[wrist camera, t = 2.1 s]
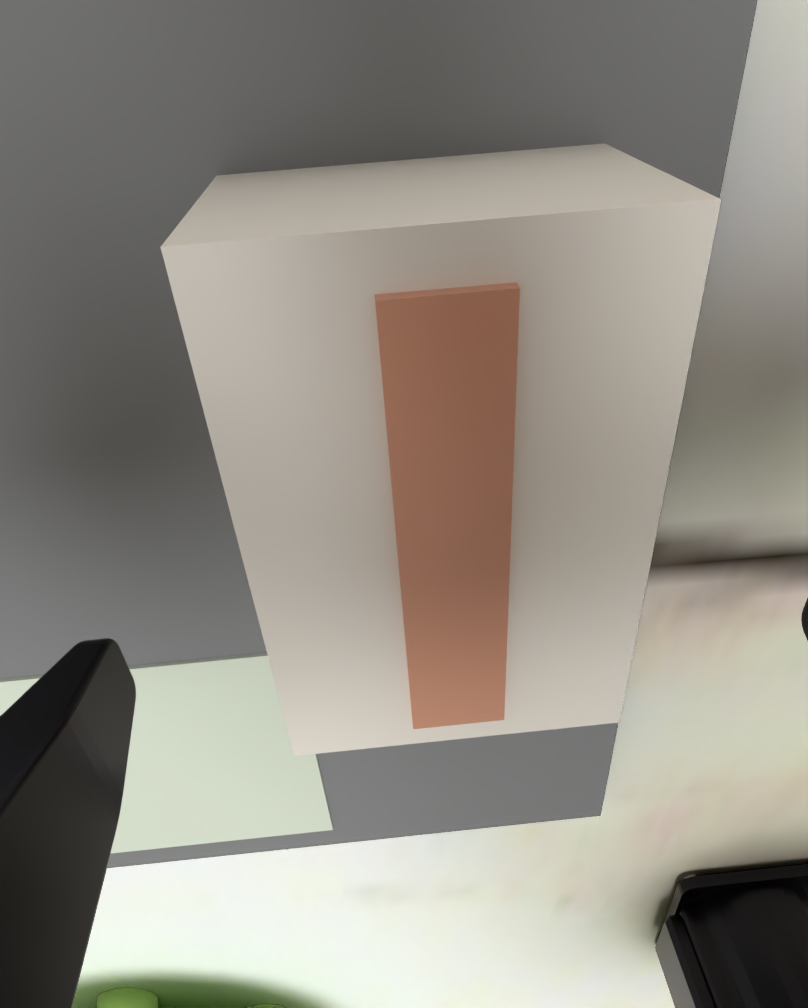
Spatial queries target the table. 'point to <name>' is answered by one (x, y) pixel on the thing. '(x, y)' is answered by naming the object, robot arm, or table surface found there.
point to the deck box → (445, 426)
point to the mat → (170, 379)
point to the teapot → (140, 999)
